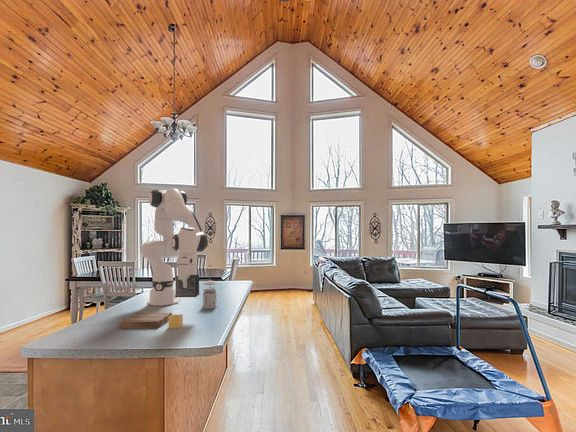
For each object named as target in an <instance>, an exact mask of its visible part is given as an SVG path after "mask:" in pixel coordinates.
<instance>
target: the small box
mask: <svg viewBox="0 0 576 432" xmlns="http://www.w3.org/2000/svg"><path fill="white" fill-rule="evenodd" d="M174 277H175V278H174V279H175V290H176V297H178V298H197V297H198V296H200V274H196V275H191V276H190V277H189V278H188V279H187V284H188V287H187V288H183V282H182V280H179V279H178V275H175V276H174Z"/></svg>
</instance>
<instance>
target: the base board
mask: <svg viewBox="0 0 576 432" xmlns="http://www.w3.org/2000/svg"><path fill="white" fill-rule="evenodd" d="M171 315H173V312H135V314H134V313H133V314H132V315H130V316H128V317H127V318H124V319H123V320H121V321H120V320H119V321H120V322H119V329H159V328H162V326H164V325H165V324H167V323H169V317H170V316H171Z"/></svg>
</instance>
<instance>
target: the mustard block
mask: <svg viewBox="0 0 576 432" xmlns="http://www.w3.org/2000/svg"><path fill="white" fill-rule="evenodd" d="M183 316H184V315H183V314H172V315H171V316H170V317H169V321H168V329H179V328H182V326H183V324H184V323H183V321H184V318H183Z"/></svg>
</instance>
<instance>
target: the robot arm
mask: <svg viewBox="0 0 576 432" xmlns="http://www.w3.org/2000/svg"><path fill="white" fill-rule="evenodd" d="M187 202H188V195H187V193H186V192H185V191H183V190H179V189H177V188H168V189H153V190H151V191H150V192H149V195H148V203H149V205H150V206H151V207H152V208H155V211H154V225H153V226H154V228H153V229H154V232H155V233H156V234H158V235H160V236H162V238H163V240H149V241H145V242H143V244H142V245H141V248H140V253H141V256H142V257H143V258H144V259H146V260H147V261H148V262H149V263H150V266H151V268H152V276H153V277H152V279H153V280H152V283H151V286H152V288H151V289H150V291H149V301H147V303H146V304H148V305H150V306H154V307H155V306H156V307H157V306H160V307H161V306H169V305H177V304H178V303H180V300H181V297H176V287H174V283H175V280H174V279H173V268H172V266H171V265H170V264H167V263H166V262H164V260H163V259H171V258H172V259H173V258H177V259H176V261H175V263H176V265H177V266H176V269H177V272H176V273H177V276H178V279H179V280H182V282H183V288H187V287H188V284H187V279H188V278H189V277H190V276H191V275H197V273H198V272H197V271H198V269H197V262H198V253H202V252H204V251H205V250H206V249H207V247H208V245H209V241H208V236H207V235H206V234H205V232H204V230H203V229H202V226H201V225H200V223H199V221H198V219H197V216H196V215H195V213H194V212H193V211H191V210H190V209H189V208H188V207H187V206H186V205H187ZM174 221H175V222H180V223H183V224H186V225H187V226H182V227H180V230H179V232H178V233H175V232H174Z"/></svg>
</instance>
